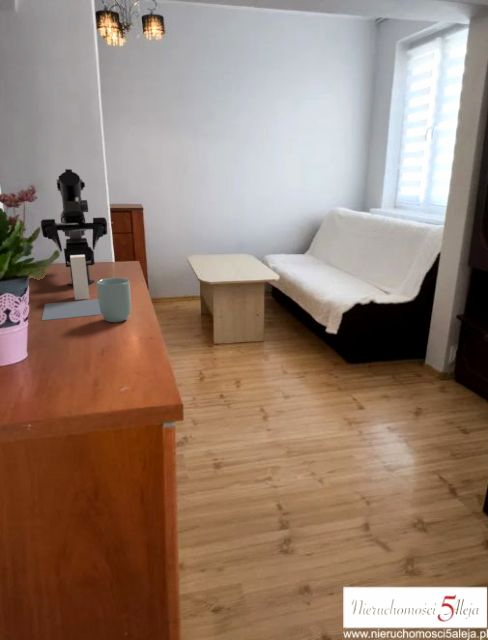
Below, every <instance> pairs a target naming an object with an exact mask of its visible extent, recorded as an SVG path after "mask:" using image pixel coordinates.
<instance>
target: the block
mask: <svg viewBox="0 0 488 640" xmlns="http://www.w3.org/2000/svg"><path fill="white" fill-rule="evenodd" d="M70 261H71V269H72V277H73V285H72V286H73V292H74V300H75V301H81V300H91V298H90V290H89V284H88V280H87V271H86V262H87V261H86V262H85V255H70Z"/></svg>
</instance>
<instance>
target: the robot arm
mask: <svg viewBox="0 0 488 640" xmlns="http://www.w3.org/2000/svg"><path fill="white" fill-rule="evenodd" d="M64 171H65V172H64ZM64 171H63V172H62V173H61V174H60V175H59V176H58V179H56V186H57V187H56V188H57V191H58V192H59V193H60V196H61V201H62V202H61V203H62V212H61V213H60V222H56V219H55V218H45V219H42V220H41V221H40V227H41V232H42V237H43V238H48V240H52V241H53V242H54V244H55V245H56V247H57V248H58V250H59V252H60V253H61V252H63V254H64V261H65V268H69V269H70V278H71V282H69V283H67V286H73V277H72V269H71V261H70V255H85V262H86V271H87V280H88V285H90V284H93V283H94V282H95V279H91V274H90V268H89V267H90V266H91V267H92V266H94V265H95V264H96V263H95V252H94V251H95V249H96V246H97V243H98V242H99V239H100V238H102V237H103V236H106V235H107V234H108V222H107V218H106V217H101V216H100V217H92V222H86V217H85V213H89V205H88V200H87V199H82V191H84V188H85V187H86V184H85V182H84V181H83V180H82V179H81V177H80V175H79V174H77V173H76V172H74V171H73V169H71V168H70V169H69V168H65V169H64ZM59 231H62V233H64V236H65V237H67V238H66V239H65V242H66V243H65V248H62V244H61V240H60V235H59ZM86 231H92V243H91V244H92V246H89V242H88V240H87V238H86V237H83V236H85V234H86V233H85V232H86Z"/></svg>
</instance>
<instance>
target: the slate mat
mask: <svg viewBox="0 0 488 640" xmlns="http://www.w3.org/2000/svg"><path fill="white" fill-rule="evenodd" d="M42 312H43V313H42V316H41V320H40V321H42V322H43V321H44V322H45V321H52V320H54V321H55V320H63V319H73V318H74V319H75V318H84V317H94V316H102V314H101V312H100V307H99V301H98V298H96V299H82V300H75V301H63V302H61V301H60V302H50V303H45V304H44V308H43V311H42Z"/></svg>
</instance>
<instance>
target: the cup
mask: <svg viewBox="0 0 488 640" xmlns="http://www.w3.org/2000/svg"><path fill="white" fill-rule="evenodd" d="M130 285H131V284H130V280H129V279H128V278H127V277H125V278H124V277H110V278H109V277H107V278H102V279H100V280H97V282H96V291H97V293H96V294H97V299H98V301H99V307H100V312H101V314H102V315H101V316H102V318H103V319H104V320H105V321H106V322H109V323H119V322H121V323H122V322H123V321H126V320H127V319H128V318H129V316H130V315H131V311H132V299H131V297H132V295H131V286H130Z"/></svg>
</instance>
